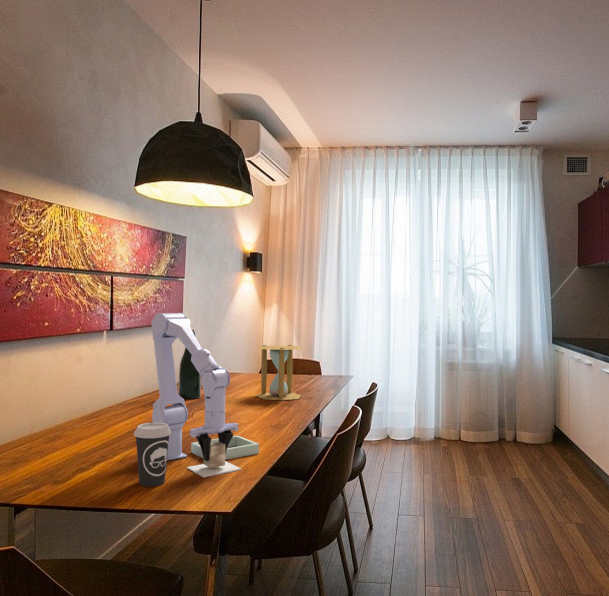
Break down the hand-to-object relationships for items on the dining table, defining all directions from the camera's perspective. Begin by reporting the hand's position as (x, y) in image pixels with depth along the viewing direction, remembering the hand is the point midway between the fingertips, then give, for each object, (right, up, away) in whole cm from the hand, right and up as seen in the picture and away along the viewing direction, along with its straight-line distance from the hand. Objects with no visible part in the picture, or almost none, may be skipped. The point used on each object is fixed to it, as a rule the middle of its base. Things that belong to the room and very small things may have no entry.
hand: (214, 458), depth 163 cm
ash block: (0, -2, 0) cm, 2 cm away
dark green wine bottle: (-30, -2, +112) cm, 116 cm away
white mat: (0, -3, 0) cm, 3 cm away
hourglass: (+13, -3, +119) cm, 120 cm away
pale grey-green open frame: (+1, -3, +17) cm, 17 cm away
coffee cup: (-14, -3, -12) cm, 19 cm away
